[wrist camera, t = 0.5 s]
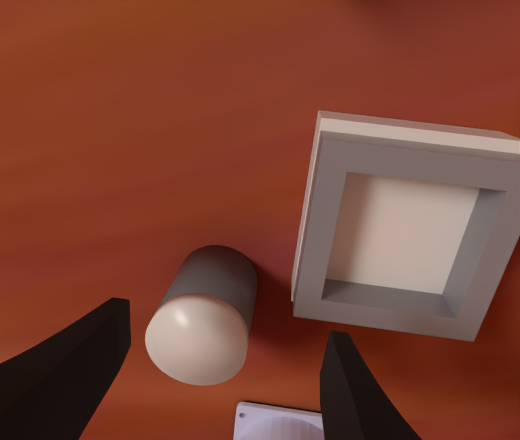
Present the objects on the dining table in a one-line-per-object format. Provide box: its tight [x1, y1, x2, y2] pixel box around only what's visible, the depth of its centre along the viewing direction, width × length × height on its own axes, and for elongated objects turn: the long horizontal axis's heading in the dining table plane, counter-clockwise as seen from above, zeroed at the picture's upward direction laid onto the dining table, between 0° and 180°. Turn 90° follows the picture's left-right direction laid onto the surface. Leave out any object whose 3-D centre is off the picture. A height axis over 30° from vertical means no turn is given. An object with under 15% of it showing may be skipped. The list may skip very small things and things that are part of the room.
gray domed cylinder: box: [145, 245, 258, 386], centre depth 21 cm, size 5×5×6 cm
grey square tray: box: [291, 110, 520, 342], centre depth 19 cm, size 10×9×4 cm
